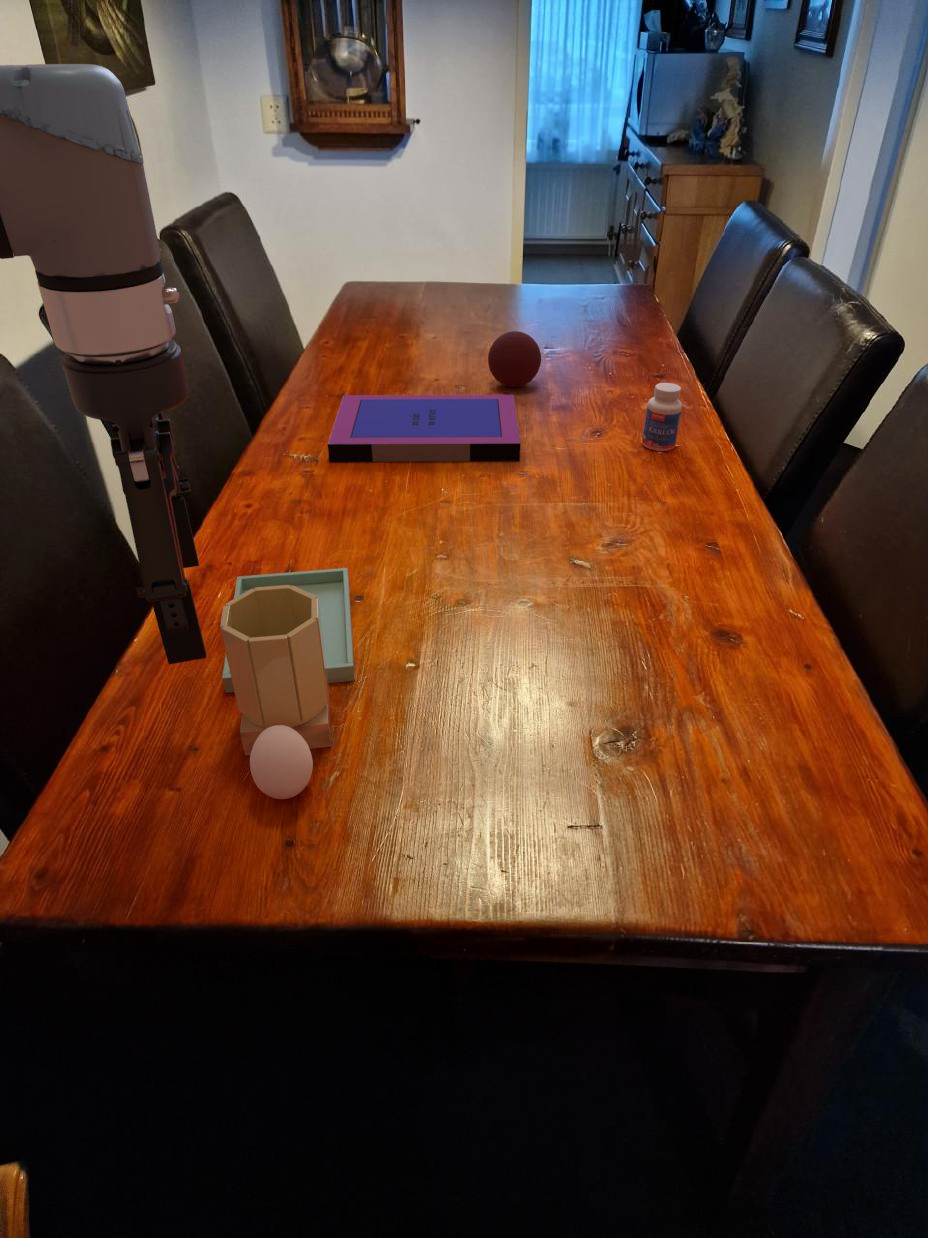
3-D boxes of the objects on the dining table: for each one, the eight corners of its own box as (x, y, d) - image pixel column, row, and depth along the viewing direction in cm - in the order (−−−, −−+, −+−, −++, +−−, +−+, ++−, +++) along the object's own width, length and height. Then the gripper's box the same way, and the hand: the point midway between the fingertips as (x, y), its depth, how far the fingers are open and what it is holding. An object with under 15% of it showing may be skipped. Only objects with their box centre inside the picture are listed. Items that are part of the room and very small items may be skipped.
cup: (237, 734, 74) (216, 644, 68) (243, 675, 81) (225, 589, 75) (330, 724, 75) (318, 635, 69) (329, 667, 82) (317, 582, 76)
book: (520, 443, 127) (327, 444, 127) (519, 461, 128) (329, 461, 128) (513, 394, 144) (343, 395, 144) (513, 410, 145) (344, 411, 145)
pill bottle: (642, 451, 131) (650, 392, 126) (640, 437, 136) (648, 380, 130) (677, 452, 131) (687, 393, 125) (674, 439, 135) (683, 381, 129)
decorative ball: (540, 377, 160) (542, 324, 154) (539, 395, 152) (542, 341, 146) (489, 375, 160) (490, 323, 155) (485, 393, 152) (486, 339, 146)
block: (244, 756, 76) (239, 732, 74) (250, 699, 83) (245, 677, 81) (331, 747, 77) (327, 723, 75) (330, 692, 84) (327, 669, 82)
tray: (355, 680, 85) (353, 665, 84) (225, 693, 83) (221, 678, 82) (349, 581, 100) (347, 567, 99) (239, 590, 99) (236, 576, 98)
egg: (329, 787, 73) (320, 726, 69) (284, 823, 70) (272, 762, 65) (288, 761, 76) (278, 701, 71) (244, 795, 72) (229, 734, 68)
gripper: (183, 406, 45) (245, 696, 58) (175, 294, 64) (222, 529, 77) (37, 421, 43) (133, 717, 56) (74, 302, 63) (139, 541, 75)
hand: (185, 609), depth 66 cm, fingers open, 13 cm apart
